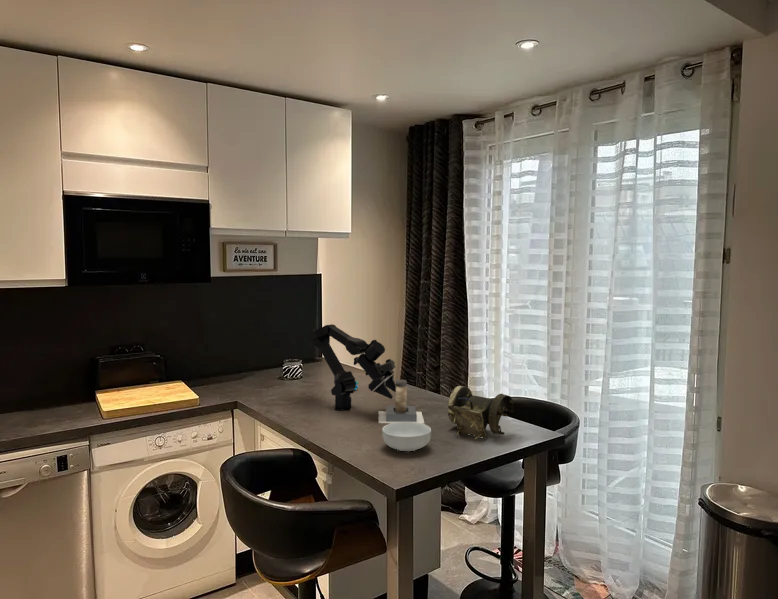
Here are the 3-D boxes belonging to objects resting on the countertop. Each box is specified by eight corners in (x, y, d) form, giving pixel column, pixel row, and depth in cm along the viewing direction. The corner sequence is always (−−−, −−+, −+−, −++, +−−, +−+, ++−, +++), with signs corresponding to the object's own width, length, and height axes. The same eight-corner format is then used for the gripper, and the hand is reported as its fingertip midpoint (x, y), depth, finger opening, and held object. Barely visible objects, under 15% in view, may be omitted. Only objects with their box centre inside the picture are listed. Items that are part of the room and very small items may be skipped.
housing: (386, 421, 218) (386, 414, 218) (385, 412, 230) (385, 405, 230) (416, 421, 219) (416, 414, 218) (414, 412, 231) (414, 405, 230)
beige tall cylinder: (395, 418, 222) (396, 382, 221) (395, 415, 227) (395, 379, 225) (406, 418, 222) (407, 382, 221) (405, 415, 227) (406, 379, 226)
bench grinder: (469, 411, 224) (457, 371, 216) (520, 420, 210) (508, 377, 202) (445, 444, 211) (431, 403, 203) (497, 456, 197) (484, 412, 189)
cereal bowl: (415, 437, 202) (415, 418, 201) (440, 452, 187) (440, 432, 187) (373, 444, 194) (373, 424, 193) (396, 460, 179) (396, 439, 179)
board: (378, 424, 216) (378, 422, 216) (378, 412, 232) (378, 411, 232) (424, 424, 217) (424, 423, 217) (421, 413, 233) (421, 411, 233)
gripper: (376, 357, 216) (403, 388, 214) (390, 349, 234) (414, 377, 231) (357, 375, 219) (383, 406, 217) (372, 366, 236) (396, 394, 234)
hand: (395, 395), depth 225 cm, fingers open, 9 cm apart
